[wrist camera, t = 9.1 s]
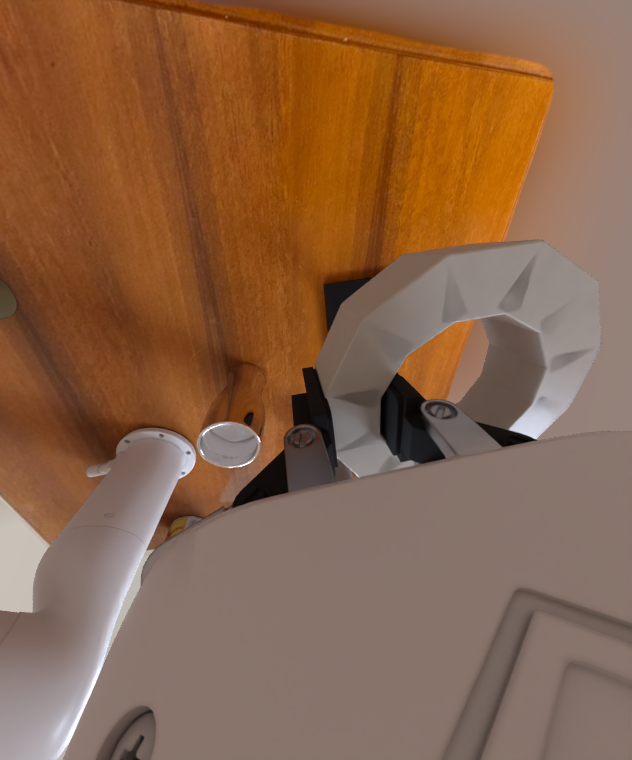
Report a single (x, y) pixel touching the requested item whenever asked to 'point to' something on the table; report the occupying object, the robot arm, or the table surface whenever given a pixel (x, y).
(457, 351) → the table surface
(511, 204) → the table surface
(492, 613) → the robot arm
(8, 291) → the olive pawn figure
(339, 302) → the post
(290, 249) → the table surface
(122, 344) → the table surface
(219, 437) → the beer glass
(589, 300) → the tape roll
